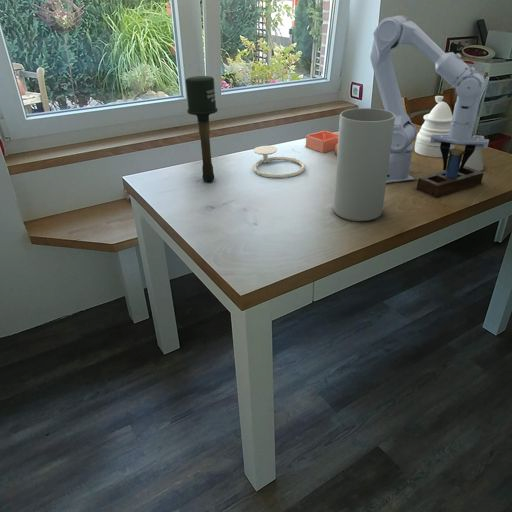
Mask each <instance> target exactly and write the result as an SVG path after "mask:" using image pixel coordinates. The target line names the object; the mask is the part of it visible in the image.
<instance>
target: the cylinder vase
mask: <svg viewBox="0 0 512 512" xmlns="http://www.w3.org/2000/svg"><path fill="white" fill-rule="evenodd" d="M394 122H395V114H394V113H392V112H390V111H387V110H385V109H381V108H372V107H358V108H350V109H345V110H343V111H341V112H340V113H339V125H338V135H339V137H338V152H337V155H336V169H335V183H334V197H333V211H334V213H335V214H336V215H337V216H339V217H340V218H342V219H344V220H348V221H353V222H368V221H373V220H376V219H378V218H379V217H380V216H381V215H382V214H383V209H384V203H385V202H384V201H385V196H386V188H387V183H386V181H387V173H388V166H389V159H390V151H391V144H392V137H393V129H394Z"/></svg>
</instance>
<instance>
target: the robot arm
mask: <svg viewBox="0 0 512 512" xmlns="http://www.w3.org/2000/svg"><path fill="white" fill-rule="evenodd" d="M398 45H410V46H413V47H414V48H415V49H416V50H417V51H419V53H421V54H422V55H423V56H425V57H426V58H427V59H428V60H430V61H431V62H432V63H434V65H435V66H434V67H435V73H437V74H438V75H439V76H440V77H441V78H442V79H443V80H444V81H446V82H447V83H448V84H449V85H450V86H451V87H452V88H455V92H456V95H457V96H456V101H455V103H454V108H453V112H452V116H453V117H452V122H451V127H450V132H449V135H434V134H432V136H431V140H430V143H441V145H440V150H441V153H442V157H441V158H442V163H443V164H442V167H443V168H442V171H444V170H446V169H447V165H448V160H449V156H448V154H449V150H450V145H451V144H453V145H455V146H465V147H464V149H463V151H464V154H463V155H462V158H461V162H460V163H461V165H460V169H459V172H462V169H463V167H464V165H465V163H466V162H467V160H468V159H469V157H470V156H471V155H472V154H473V152H474V151H475V147H481V148H482V149H488V146H489V143H490V139H488V138H484V139H481V138H476V137H473V132H474V128H475V124H476V123H475V122H476V120H477V119H476V118H477V114H478V110H479V103H480V100H481V92H482V91H483V89H484V87H485V84H486V79H485V77H484V75H483V74H482V73H481V72H480V71H476V68H475V67H474V66H472V67H470V66H469V65H468V64H467V63H466V62H465V61H464V60H463V59H461V58H462V55H461V54H460V53H459V52H457V53H454V51H450V52H445V51H444V50H443V49H442V48H441V47H440V46H439V45H438V44H436V43H435V42H434V40H432V39H431V38H430V37H429V36H428V35H427V34H426V32H424V30H422V29H421V27H419V26H418V24H416V23H415V22H414V21H412V20H410V19H409V18H408V17H407V16H406V15H403V14H397V15H394V16H387V17H384V18H383V19H381V21H379V23H378V25H377V26H376V27H375V30H374V31H373V41H372V45H371V46H372V47H371V51H370V56H369V59H370V62H371V66H372V70H373V73H374V77H375V80H376V85H377V87H378V91H379V95H380V99H381V102H382V105H383V110H387V111H390V112H392V113H394V114H395V122H394V129H393V137H392V144H391V151H390V159H389V166H388V173H387V181H386V184H390V183H397V182H398V183H399V182H406V181H407V182H409V181H413V180H415V178H414V177H413V176H411V175H410V168H411V162H412V157H413V151H414V147H413V144H412V143H413V141H414V140H416V138H417V134H418V130H417V128H416V125H414V123H413V122H412V120H411V118H410V115H408V113H407V112H406V110H405V105H404V101H403V98H402V94H401V90H400V86H399V83H398V79H397V77H396V72H395V69H394V68H395V67H394V64H393V61H392V56H393V54H394V53H395V51H396V49H397V47H398Z"/></svg>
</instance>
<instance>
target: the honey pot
mask: <svg viewBox="0 0 512 512" xmlns="http://www.w3.org/2000/svg"><path fill="white" fill-rule="evenodd" d="M434 100H435V102H436V103H437V104H435V106H434V107H433V108H432V109H431V111H430V112H429V113H426V114H424V115H423V120H424V122H423V123H422V125H421V127H420V129H419V131H418V132H417V135H416V138H415V144H414V148H413V151H414V152H415V153H416V154H419V156H424V157H430V158H443V157H442V153H441V150H440V145H441V143H430V140H431V136H432V134H434V135H449V132H450V127H451V122H452V117H453V112H452V109H451V108H450V106H449V104H448V103H447V102H445V101H443V100H444V96H443V95H436V96H434ZM455 147H456V145H453V144H451V145H450V149H455ZM449 155H450V153H449V154H448V157H449Z"/></svg>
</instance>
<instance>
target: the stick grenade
mask: <svg viewBox="0 0 512 512" xmlns="http://www.w3.org/2000/svg"><path fill="white" fill-rule="evenodd" d="M215 87H216V86H215V79H214V77H213V76H209V75H195V76H190V77H187V78H186V79H185V89H186V98H187V110H186V111H187V114H188V115H191V116H192V115H193V116H196V118H197V126H198V127H197V128H198V134H199V137H200V148H201V158H202V165H201V167H202V169H201V170H202V175H201V176H202V180H203V181H204V182H205V183H211V182H213V181H215V173H214V166H213V163H212V153H211V152H212V151H211V141H210V140H211V139H210V135H211V129H210V115H212V114H215V113H217V112H218V107H217V103H216V102H217V101H216V90H215V89H216V88H215Z"/></svg>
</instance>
